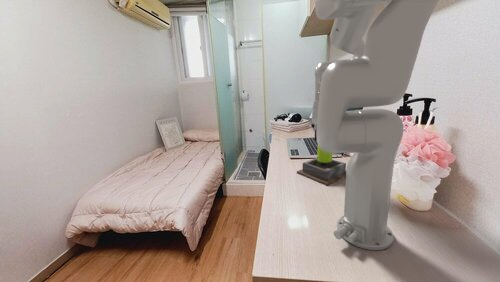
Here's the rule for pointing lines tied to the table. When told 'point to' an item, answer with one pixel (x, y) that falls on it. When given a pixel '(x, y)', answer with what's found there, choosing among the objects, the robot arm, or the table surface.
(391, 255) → the table surface
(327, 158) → the soap dispenser
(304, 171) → the box
